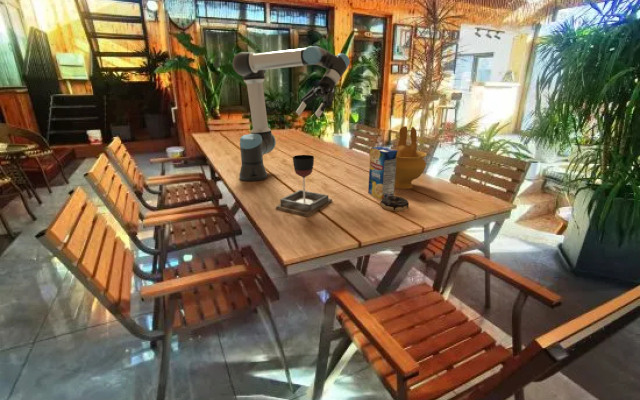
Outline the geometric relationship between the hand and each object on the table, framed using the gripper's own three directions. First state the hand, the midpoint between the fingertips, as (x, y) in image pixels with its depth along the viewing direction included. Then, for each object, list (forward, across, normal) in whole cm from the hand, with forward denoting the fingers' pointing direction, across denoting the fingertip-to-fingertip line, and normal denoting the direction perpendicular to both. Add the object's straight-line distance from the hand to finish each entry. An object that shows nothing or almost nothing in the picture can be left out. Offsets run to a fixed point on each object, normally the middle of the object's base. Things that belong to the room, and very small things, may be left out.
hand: (306, 114), depth 158 cm
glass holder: (+39, -20, -11) cm, 45 cm away
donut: (+21, -48, -30) cm, 61 cm away
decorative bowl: (0, -34, -50) cm, 60 cm away
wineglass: (+38, -19, -11) cm, 44 cm away
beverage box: (+15, -35, -36) cm, 52 cm away
